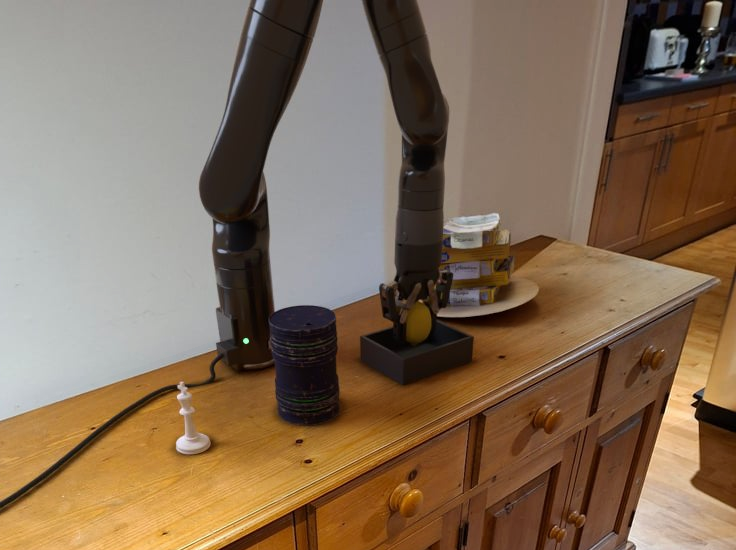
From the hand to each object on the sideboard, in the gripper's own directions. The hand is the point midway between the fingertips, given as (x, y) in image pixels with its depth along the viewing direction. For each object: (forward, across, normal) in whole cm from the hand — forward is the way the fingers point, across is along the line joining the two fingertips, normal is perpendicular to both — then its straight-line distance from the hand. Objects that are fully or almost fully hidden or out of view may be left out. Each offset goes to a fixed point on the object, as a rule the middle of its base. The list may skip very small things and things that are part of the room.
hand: (414, 337), depth 120 cm
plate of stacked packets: (+4, -27, -14) cm, 31 cm away
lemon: (+2, 0, 0) cm, 2 cm away
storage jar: (+5, +24, +4) cm, 25 cm away
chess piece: (+5, +43, +3) cm, 44 cm away
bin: (+4, 0, 0) cm, 4 cm away
